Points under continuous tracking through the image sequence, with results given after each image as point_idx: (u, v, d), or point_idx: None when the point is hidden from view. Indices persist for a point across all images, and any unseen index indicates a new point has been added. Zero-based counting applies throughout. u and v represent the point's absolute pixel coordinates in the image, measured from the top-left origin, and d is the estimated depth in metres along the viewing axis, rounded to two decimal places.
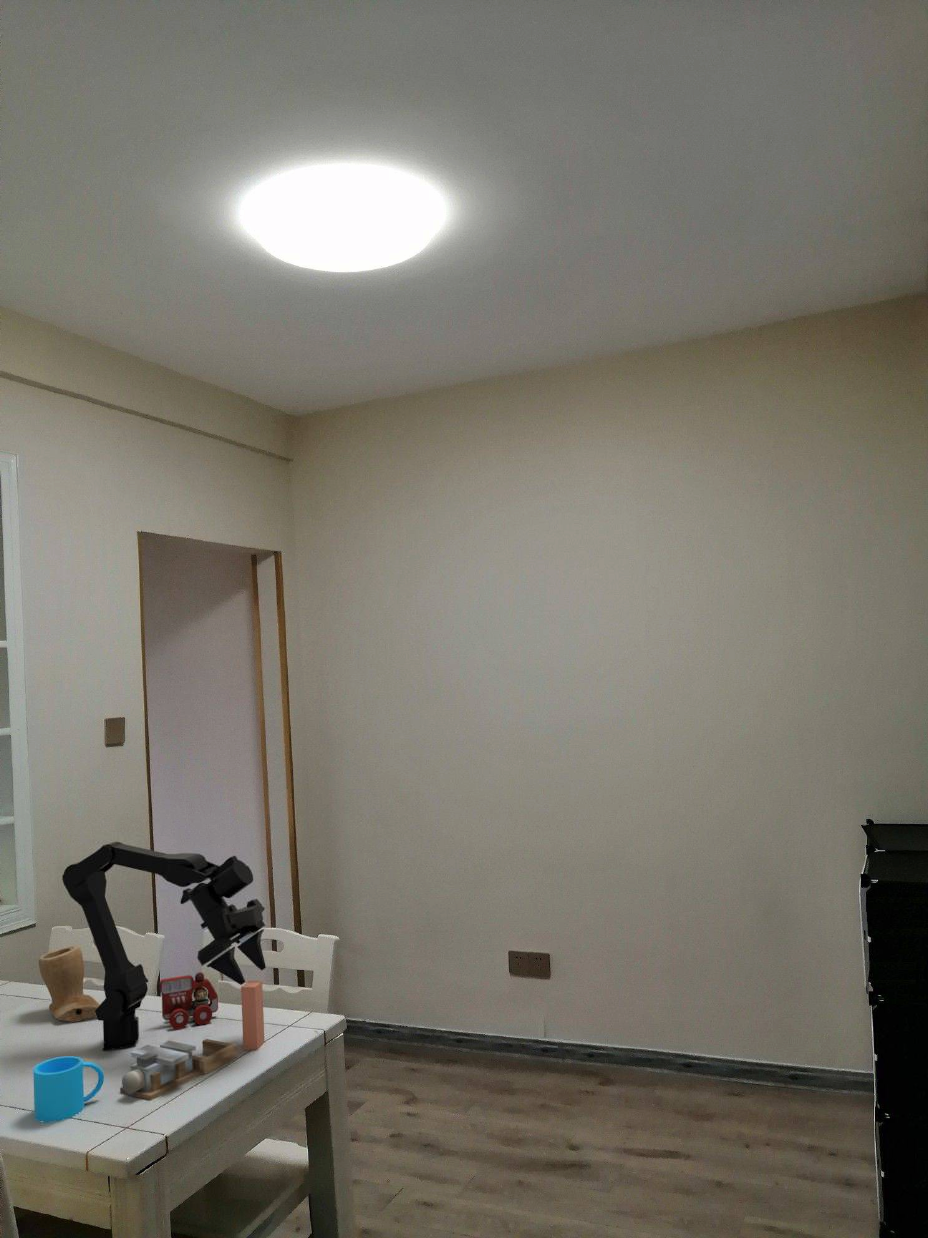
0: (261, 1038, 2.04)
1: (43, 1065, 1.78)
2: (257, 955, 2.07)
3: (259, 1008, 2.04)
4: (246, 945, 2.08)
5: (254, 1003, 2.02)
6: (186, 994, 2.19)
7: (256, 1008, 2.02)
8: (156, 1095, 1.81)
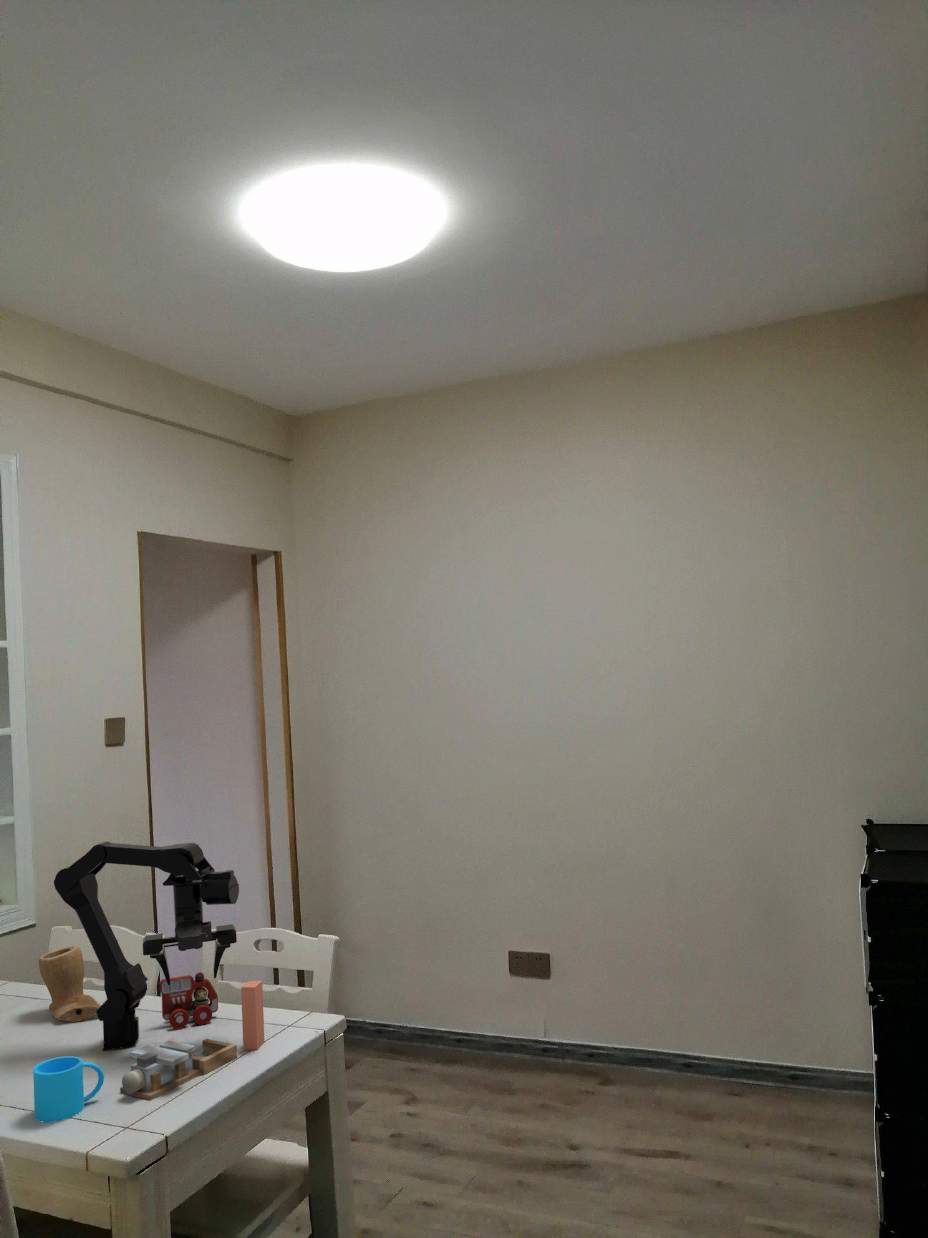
0: (261, 1038, 2.04)
1: (43, 1065, 1.78)
2: (214, 963, 2.08)
3: (259, 1008, 2.04)
4: (215, 947, 2.10)
5: (254, 1003, 2.02)
6: (186, 994, 2.19)
7: (256, 1008, 2.02)
8: (156, 1095, 1.81)
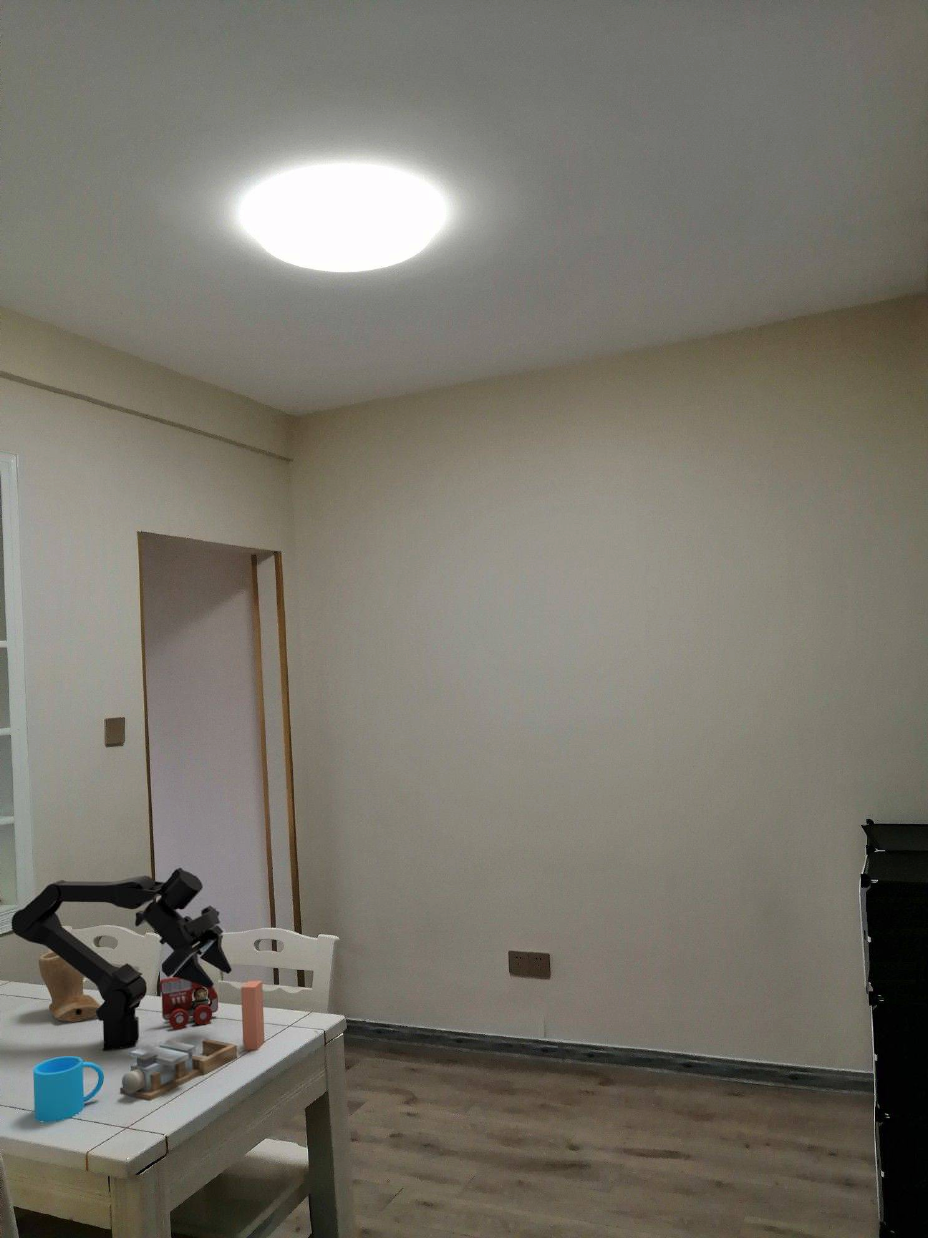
0: (261, 1038, 2.04)
1: (43, 1065, 1.78)
2: (221, 960, 2.11)
3: (259, 1008, 2.04)
4: (208, 953, 2.12)
5: (254, 1003, 2.02)
6: (186, 994, 2.19)
7: (256, 1008, 2.02)
8: (156, 1095, 1.81)
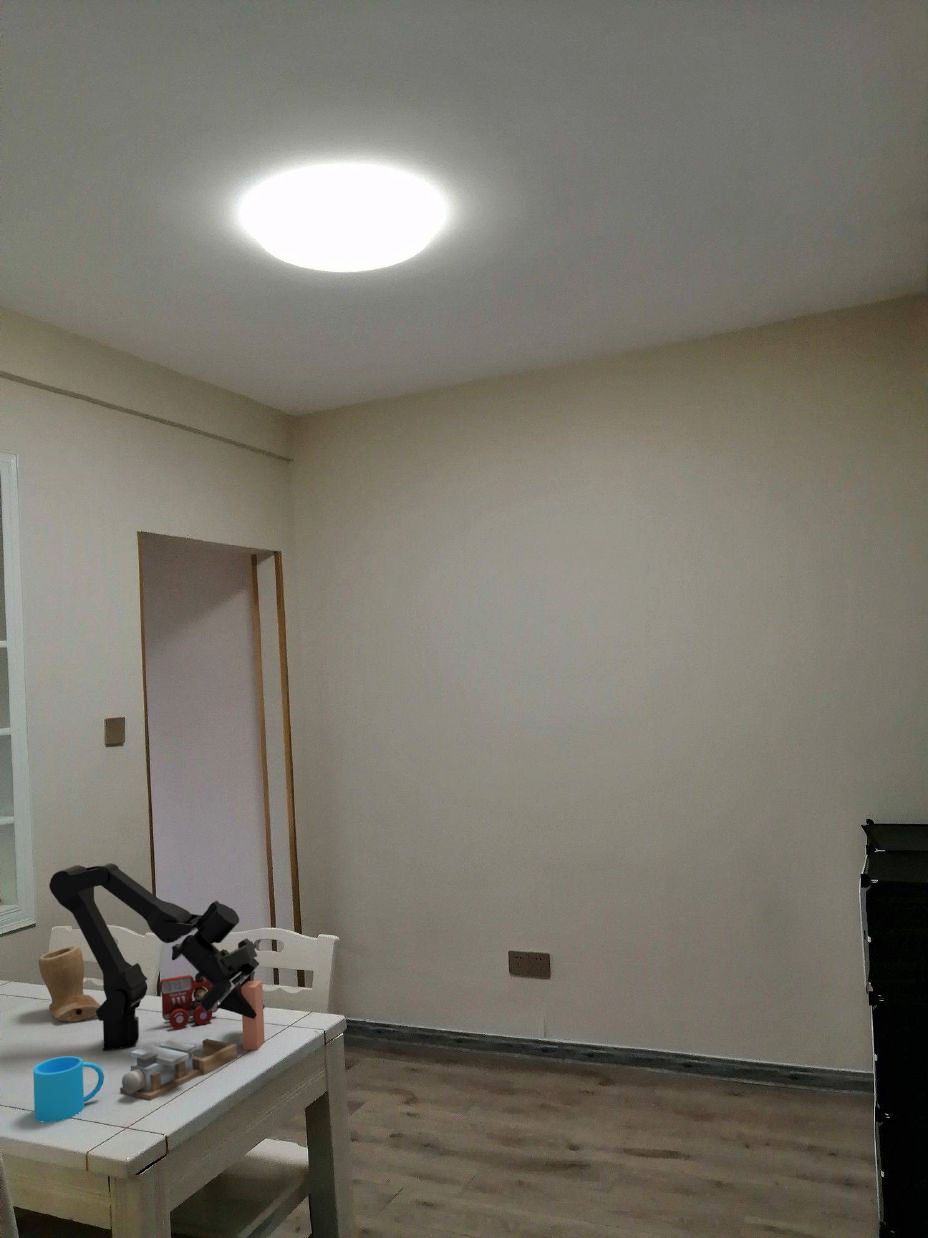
0: (261, 1038, 2.04)
1: (43, 1065, 1.78)
2: None
3: (259, 1008, 2.04)
4: None
5: (254, 1003, 2.02)
6: (186, 994, 2.19)
7: (256, 1008, 2.02)
8: (156, 1095, 1.81)
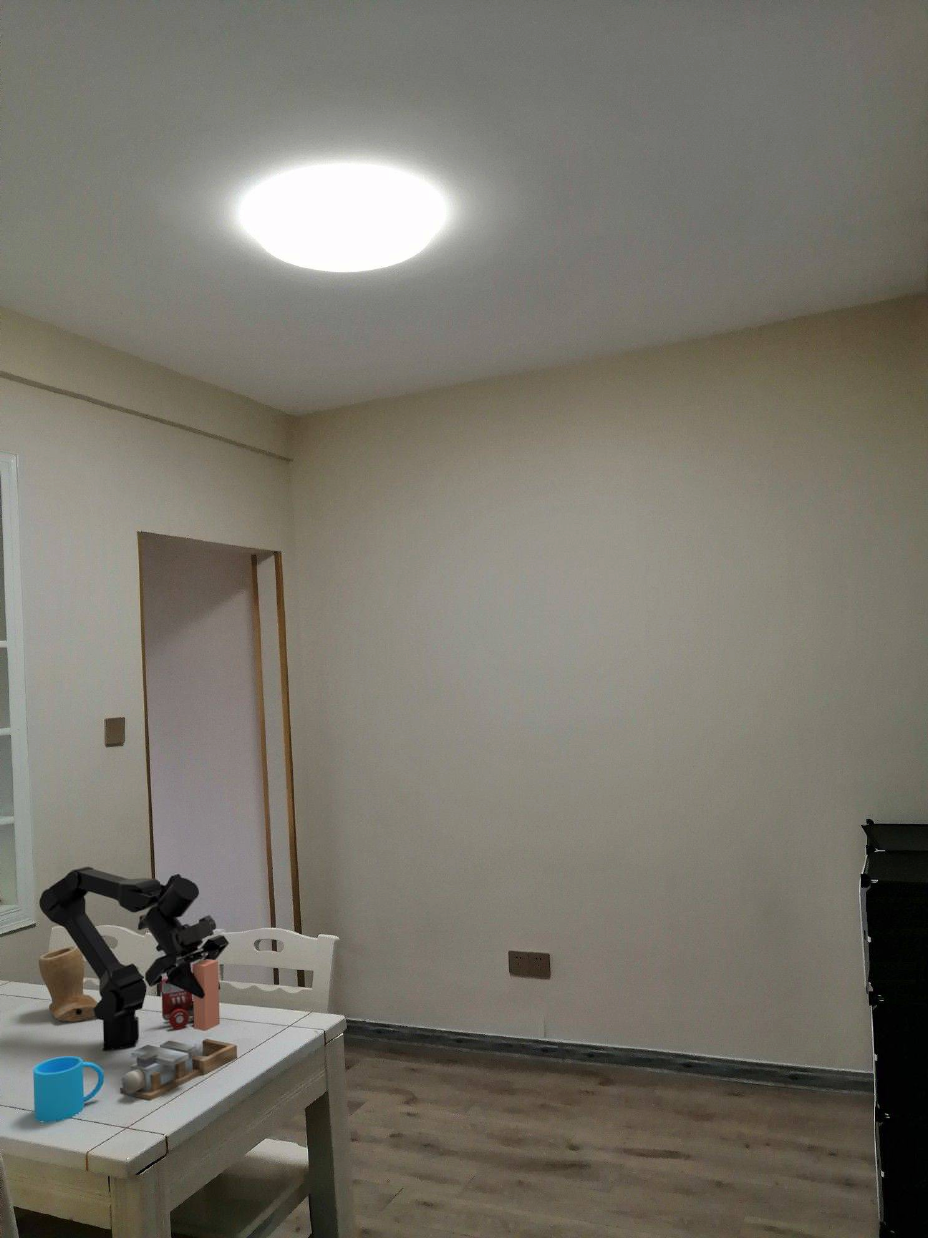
0: (214, 1019, 1.97)
1: (43, 1065, 1.78)
2: None
3: (210, 989, 1.97)
4: None
5: (203, 982, 1.96)
6: (186, 994, 2.19)
7: (205, 988, 1.96)
8: (156, 1095, 1.81)
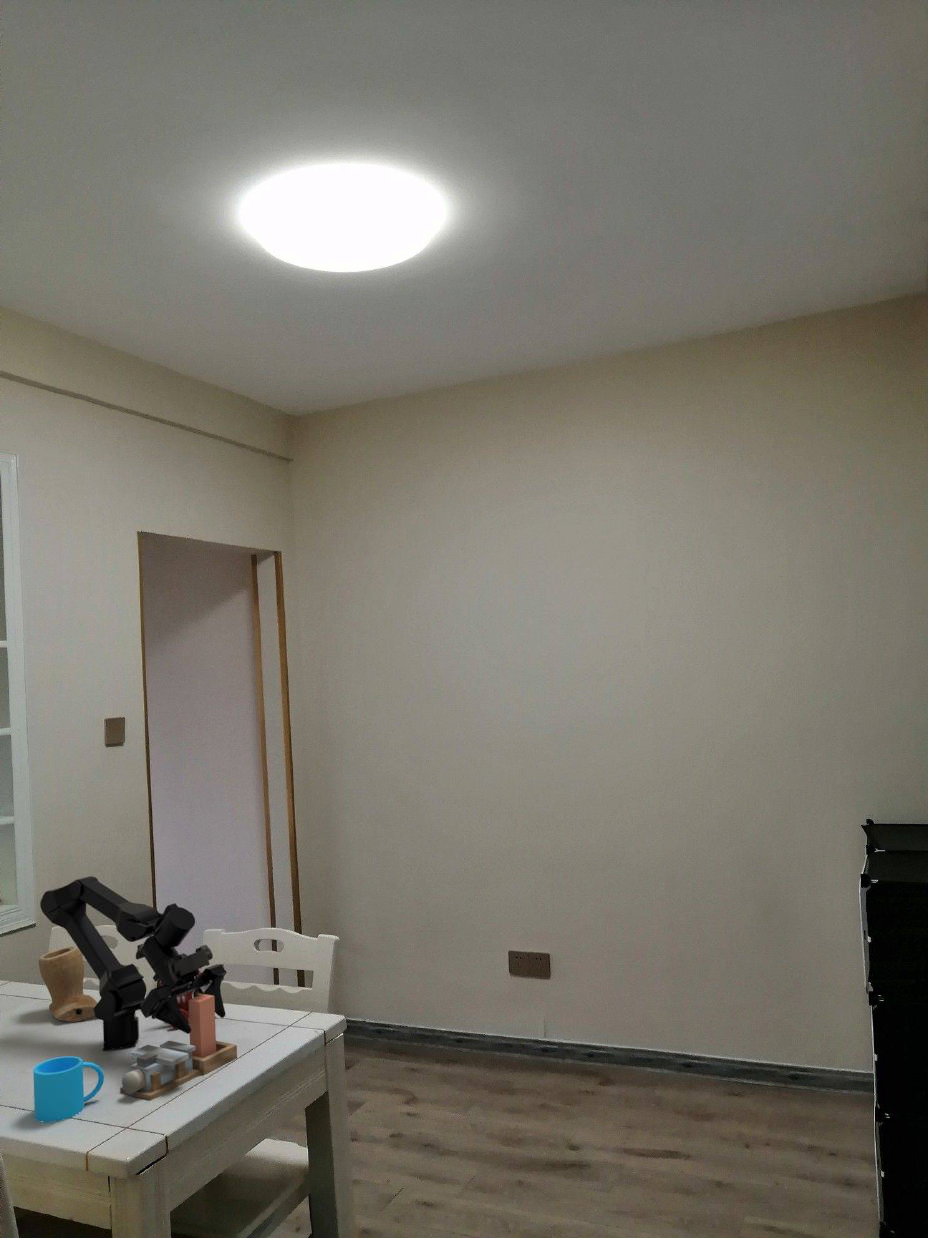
0: None
1: (43, 1065, 1.78)
2: (216, 1003, 2.01)
3: (207, 1024, 1.96)
4: (207, 994, 2.03)
5: (199, 1018, 1.95)
6: (186, 994, 2.19)
7: (201, 1024, 1.95)
8: (156, 1095, 1.81)
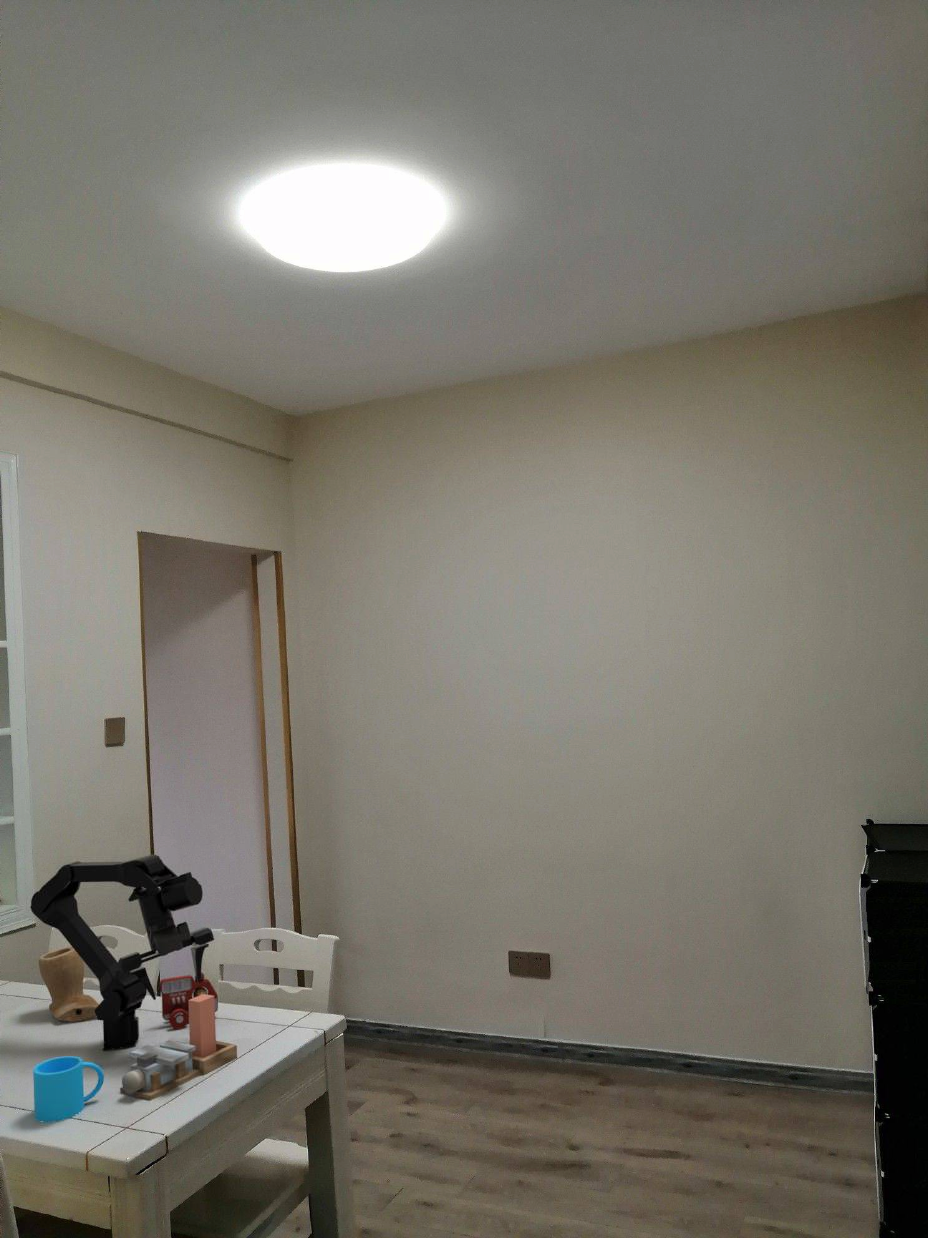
0: None
1: (43, 1065, 1.78)
2: (195, 968, 2.07)
3: (207, 1024, 1.96)
4: (192, 952, 2.09)
5: (199, 1018, 1.95)
6: (186, 994, 2.19)
7: (201, 1024, 1.95)
8: (156, 1095, 1.81)
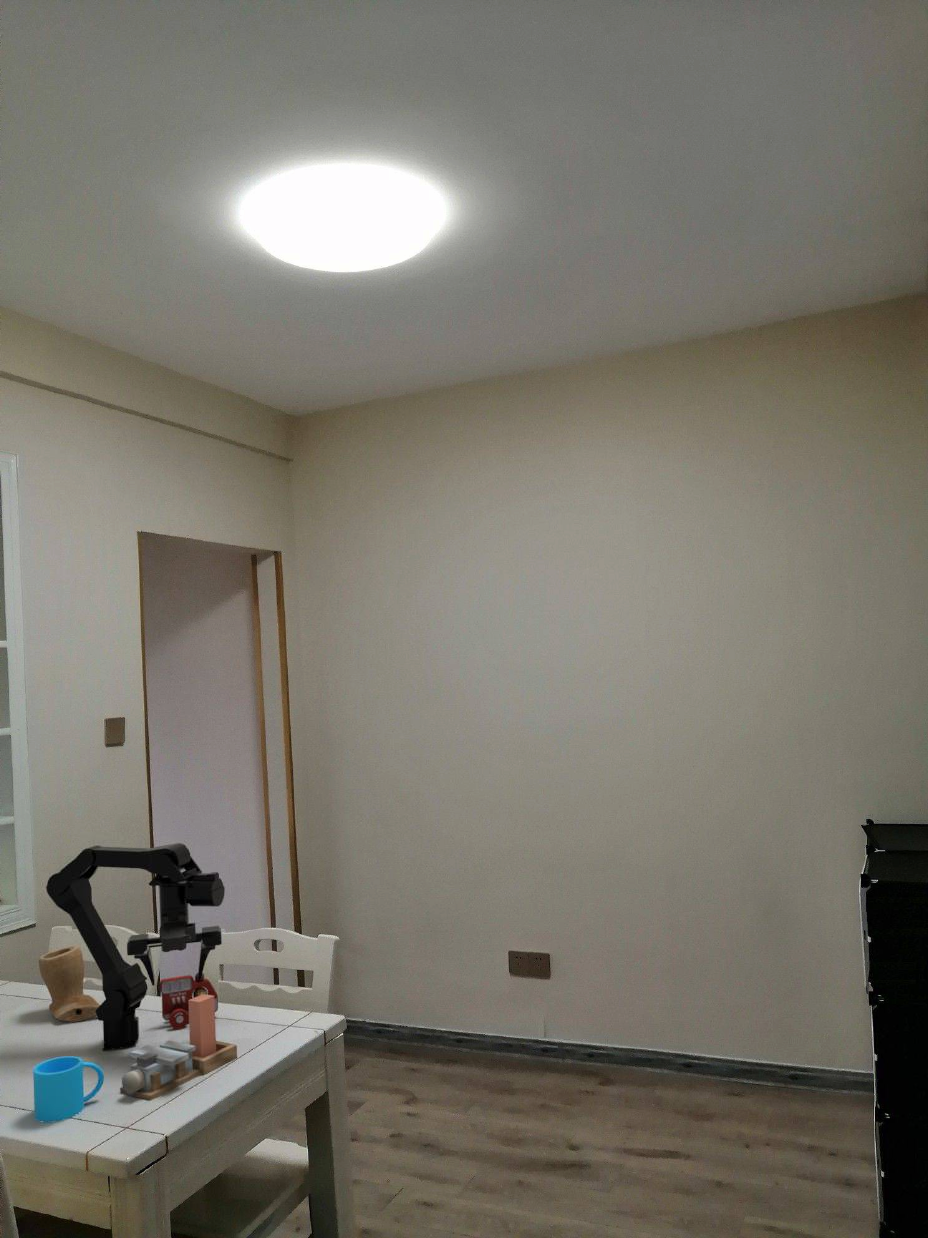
0: None
1: (43, 1065, 1.78)
2: (199, 965, 2.08)
3: (206, 1024, 1.96)
4: None
5: (199, 1018, 1.95)
6: (186, 994, 2.19)
7: (201, 1024, 1.95)
8: (156, 1095, 1.81)
